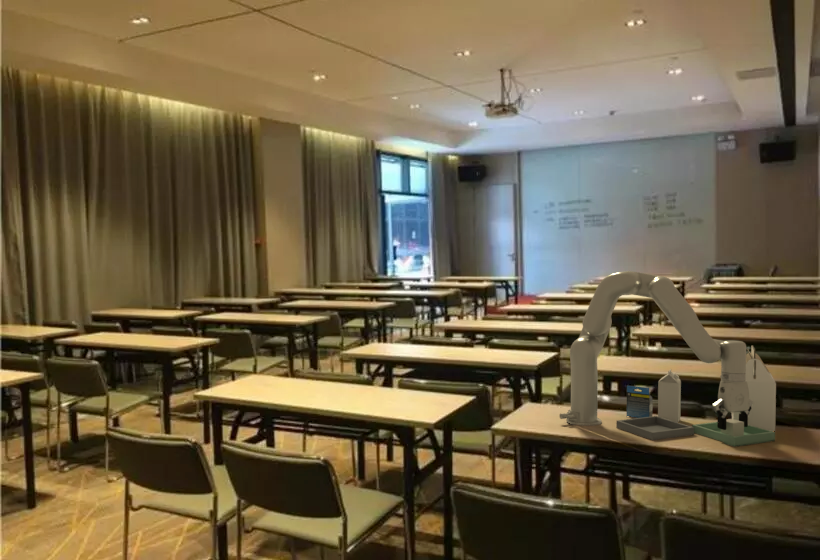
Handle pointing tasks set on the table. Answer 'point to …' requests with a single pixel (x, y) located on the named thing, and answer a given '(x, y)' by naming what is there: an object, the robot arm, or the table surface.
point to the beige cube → (734, 427)
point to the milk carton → (669, 397)
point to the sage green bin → (750, 436)
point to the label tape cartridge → (639, 402)
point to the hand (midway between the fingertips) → (732, 427)
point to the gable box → (759, 393)
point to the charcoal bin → (655, 427)
